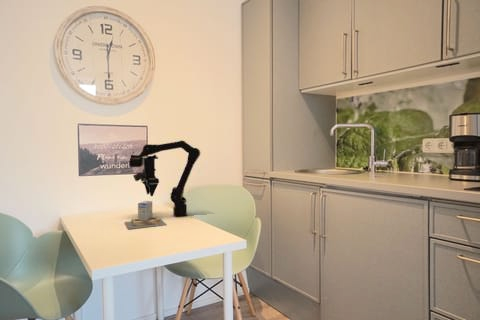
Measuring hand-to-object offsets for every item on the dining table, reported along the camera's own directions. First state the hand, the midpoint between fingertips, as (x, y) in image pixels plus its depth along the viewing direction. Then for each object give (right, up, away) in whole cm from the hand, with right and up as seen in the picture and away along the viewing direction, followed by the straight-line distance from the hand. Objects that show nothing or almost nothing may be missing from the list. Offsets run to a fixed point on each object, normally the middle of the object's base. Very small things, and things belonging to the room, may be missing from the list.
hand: (149, 195), depth 182 cm
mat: (+3, -13, -19) cm, 23 cm away
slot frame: (+3, -13, -19) cm, 23 cm away
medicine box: (+3, -10, -19) cm, 22 cm away
